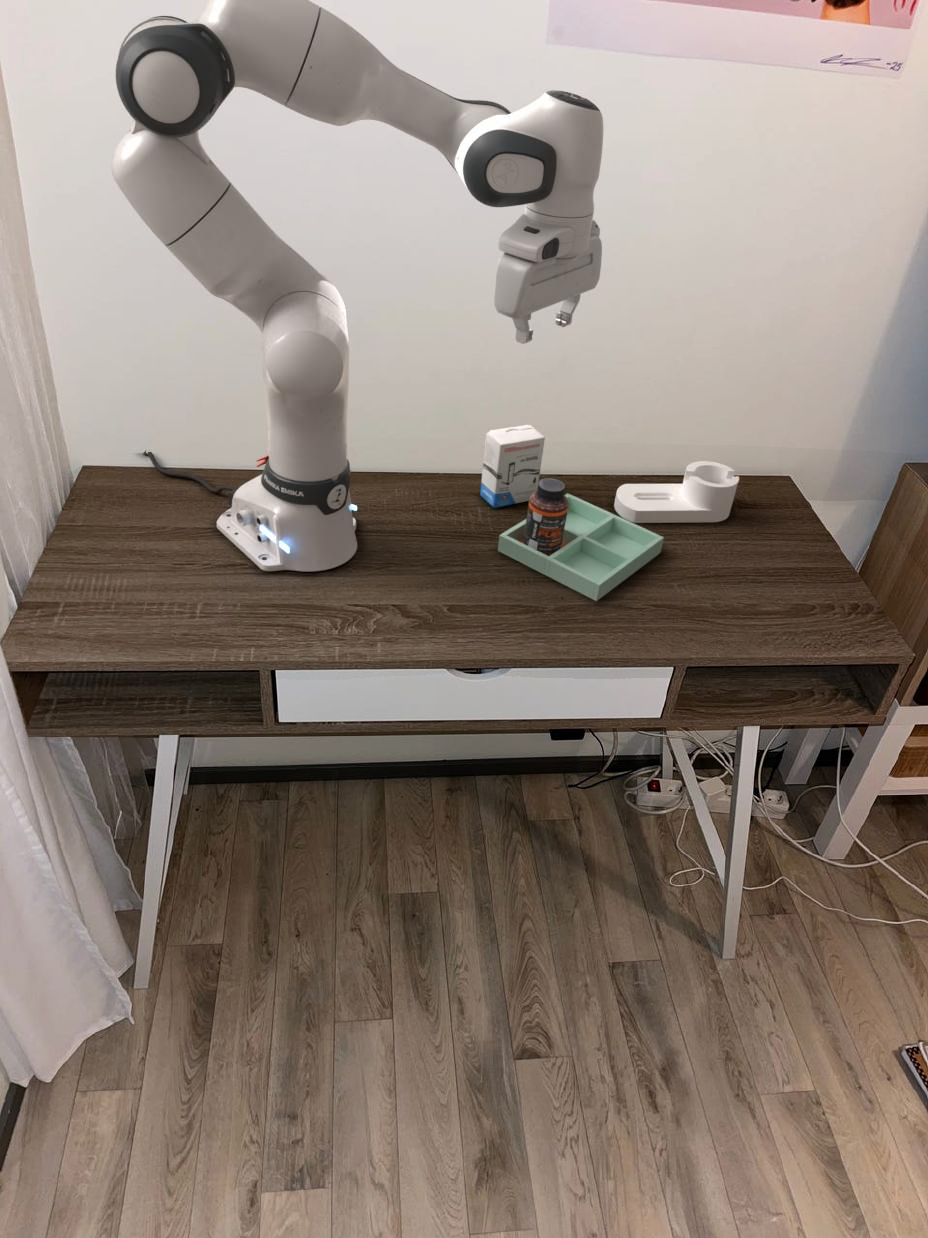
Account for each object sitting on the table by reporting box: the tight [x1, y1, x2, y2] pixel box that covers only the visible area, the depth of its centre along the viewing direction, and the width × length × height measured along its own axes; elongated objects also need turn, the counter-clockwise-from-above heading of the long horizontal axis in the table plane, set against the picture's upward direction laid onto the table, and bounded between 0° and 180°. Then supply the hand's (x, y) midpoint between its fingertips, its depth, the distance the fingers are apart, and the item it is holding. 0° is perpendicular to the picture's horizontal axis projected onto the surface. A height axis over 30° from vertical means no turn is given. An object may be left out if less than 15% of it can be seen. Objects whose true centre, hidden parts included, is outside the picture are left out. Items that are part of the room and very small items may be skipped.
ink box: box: [479, 424, 546, 509], centre depth 166 cm, size 9×5×12 cm, turn 118°
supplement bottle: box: [523, 477, 568, 556], centre depth 153 cm, size 6×6×11 cm
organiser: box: [497, 493, 665, 602], centre depth 156 cm, size 18×18×3 cm
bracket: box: [613, 460, 740, 524], centre depth 168 cm, size 20×9×7 cm, turn 98°
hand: (543, 333), depth 140 cm, fingers open, 8 cm apart
